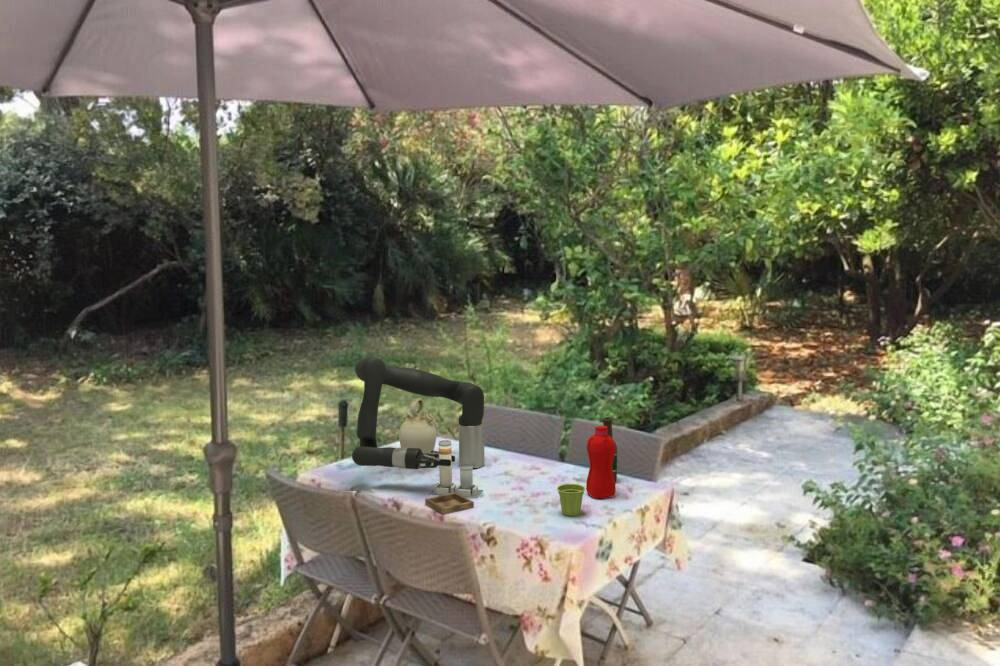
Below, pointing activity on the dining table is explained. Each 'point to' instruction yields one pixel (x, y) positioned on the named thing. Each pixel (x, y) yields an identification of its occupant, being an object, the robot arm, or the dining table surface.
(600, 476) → the water bottle
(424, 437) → the jug
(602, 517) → the dining table surface
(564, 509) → the plant pot
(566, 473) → the dining table surface
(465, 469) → the fuse
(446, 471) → the cylinder
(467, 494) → the clip block
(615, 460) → the beer bottle
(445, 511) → the tray
